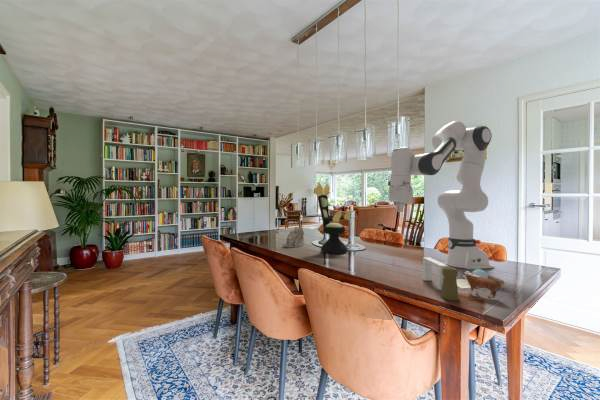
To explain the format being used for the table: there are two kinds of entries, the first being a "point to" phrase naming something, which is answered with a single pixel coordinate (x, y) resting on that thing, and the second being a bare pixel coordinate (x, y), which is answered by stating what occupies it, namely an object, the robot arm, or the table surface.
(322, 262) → the table surface
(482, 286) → the bull figurine
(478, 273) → the ball
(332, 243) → the candelabra
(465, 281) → the blank cream square sheet
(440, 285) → the bridge
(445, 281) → the olive tall rounded piece
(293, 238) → the ceramic cottage
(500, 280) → the stopper
